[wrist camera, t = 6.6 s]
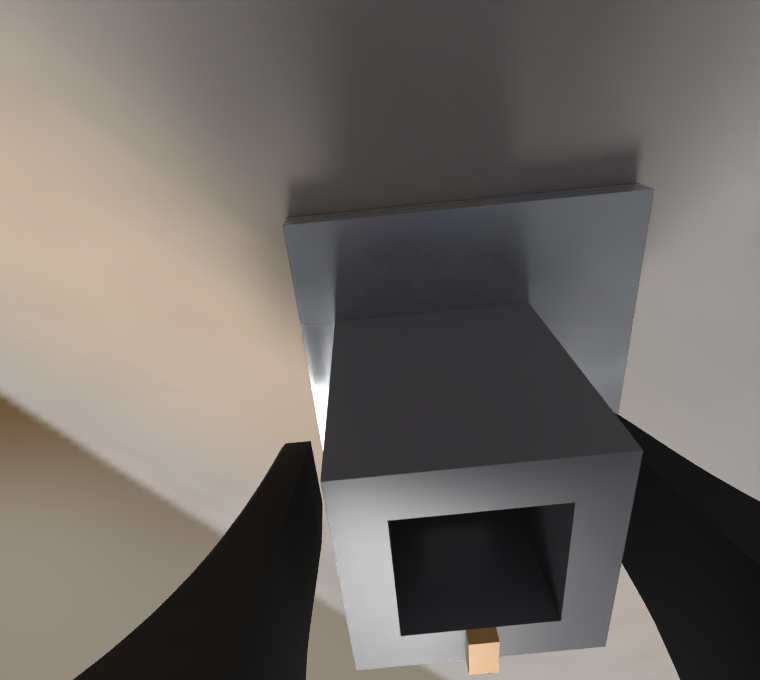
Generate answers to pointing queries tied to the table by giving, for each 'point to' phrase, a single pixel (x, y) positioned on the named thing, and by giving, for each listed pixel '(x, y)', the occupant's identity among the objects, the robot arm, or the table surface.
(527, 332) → the hollow square housing
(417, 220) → the plate
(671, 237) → the table surface
